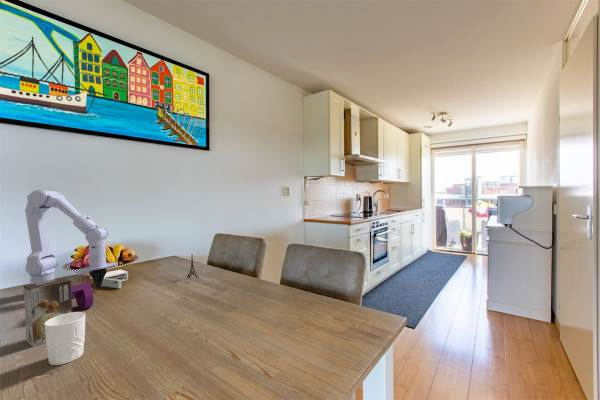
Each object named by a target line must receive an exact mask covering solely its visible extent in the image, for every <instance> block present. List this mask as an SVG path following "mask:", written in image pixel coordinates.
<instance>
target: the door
mask: <svg viewBox="0 0 600 400" xmlns="http://www.w3.org/2000/svg"><path fill="white" fill-rule="evenodd" d="M103 287H106V288H114V289H122V282H121V280H117V279H108V278H104V279H103V281H102V286H101V288H103Z"/></svg>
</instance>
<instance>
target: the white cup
mask: <svg viewBox="0 0 600 400" xmlns="http://www.w3.org/2000/svg"><path fill="white" fill-rule="evenodd" d="M44 325H45V336H46V343H45V345H46V352H47V358H48V359H47V360H48V364H50V366H60V365H64V364H65V365H66V364H68V363H71V362H73V361H75V360H77V359H79V358H81V356H83V354H84V351H85V350H84V349H85V338H86V313H85V312H83V311H74V312H73V311H72V313H66V314H62V315H59V316H56V317H53V318H51V319H49V320H47V321H46V322H45V323H44Z"/></svg>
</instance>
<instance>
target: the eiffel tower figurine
mask: <svg viewBox="0 0 600 400" xmlns="http://www.w3.org/2000/svg"><path fill="white" fill-rule="evenodd" d="M190 258H191V263H190V269H189V272H188V273H187V275H188V276H187V275H186V276H187V277H188V279H189V278H190V276H196V278H198V279H199V276H198V275H197V272H196V271H195V267H194V256H193V254H191V257H190ZM197 276H198V277H197Z"/></svg>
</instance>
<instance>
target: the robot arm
mask: <svg viewBox="0 0 600 400" xmlns="http://www.w3.org/2000/svg"><path fill="white" fill-rule="evenodd" d="M26 198H27V203H26V207H25V209H24V210H25V216H26V217H25V218H26V223H27V230H28V236H29V237H28V238H29V243H30V249H31V250H30V251H31V252H30V254H29V255H28V256H27V258H26V264H25V267H24V269H25V271H26V273H27V274H28V275H29V277H30V278H29V285H30V284H35V283H39V282H44V281H49V280H54V279H56V278H55V275H56V274H55V271H56V268H57V267H58V266H59V263H60V262H59V259H58V257H57V256H56V253H55V251H54V250H52V249H50V248H51V247H50V242H49V236H48V229H47V223H46V217H45V213H46V212H47V211H48V210H49V209H50V208H56V209H58V210H60V211H61V212H62V213H64V215H66V216H67V217H68V218H70V219H71V220H72V221H73V222H72V224H73V226H74V227H75V228H77V229H78V230H79V231H80V232H81V233H82V234H84V235H85V236H84V238H85V240H86V241H87V242H88V253H89V256H88V257H89V258H88V259H89V263H88V264H89V266H85V267H82V268H78V269H75V270H76V273H75V274H76V275H77V276H79V275H82V274H87V273H88V274H89V275H90V277H91V279H92V280H93V282H94V286H95V288H102V286H101V285H102V281H103V279H104V276H105V275H106V273H107V272H108V270H107V269H112V268H118V265H119V264H118V262H115V261H114V262H107V257H106V256H107V255H106V251H107V250H106V249H107V248H106V245H107V244H106V239H107V238H108V235H109V232H108V230H107V228H106V227H101V226H100V225H99V224H97V223H96V222H95V221H93V219H92V217H91V216H90V215H88V216H87V215H86V214H81V213H80V212H79V211H78V210H77V209H76V208H75V207H74V205H72V204H71V203H70V202H69V201H68V199H66V196H65V195H64V194H62V193H61V192H60V191H59V190H55V189H53V190H42V189H41V190H40V189H35V190H33V191H32V192H30V193H29V194H28V195H27V196H26Z"/></svg>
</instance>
